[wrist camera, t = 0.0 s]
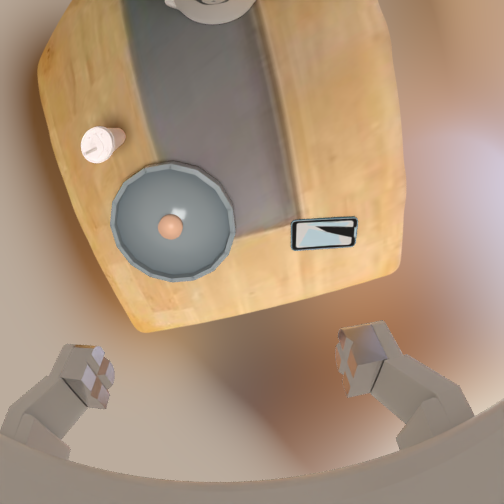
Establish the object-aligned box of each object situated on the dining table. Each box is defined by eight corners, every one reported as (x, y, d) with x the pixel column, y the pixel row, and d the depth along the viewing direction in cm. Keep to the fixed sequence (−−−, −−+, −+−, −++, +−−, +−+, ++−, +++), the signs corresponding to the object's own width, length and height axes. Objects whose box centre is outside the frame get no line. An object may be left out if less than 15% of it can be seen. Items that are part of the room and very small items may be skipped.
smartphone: (291, 220, 59) (358, 217, 59) (290, 218, 60) (357, 215, 60) (291, 251, 63) (355, 246, 63) (290, 249, 63) (353, 244, 63)
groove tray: (102, 174, 51) (97, 178, 49) (226, 153, 51) (226, 155, 49) (133, 279, 64) (130, 285, 62) (240, 269, 64) (241, 275, 62)
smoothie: (105, 154, 49) (71, 173, 37) (101, 124, 46) (65, 134, 34) (133, 150, 50) (104, 166, 37) (130, 118, 46) (98, 126, 34)
